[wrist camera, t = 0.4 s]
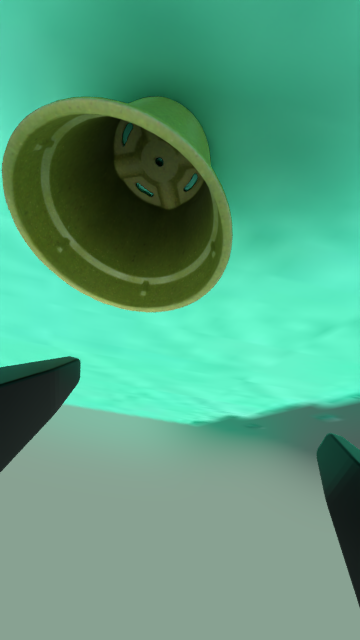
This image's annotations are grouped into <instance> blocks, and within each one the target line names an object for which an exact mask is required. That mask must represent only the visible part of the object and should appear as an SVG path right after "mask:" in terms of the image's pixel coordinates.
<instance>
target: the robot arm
mask: <svg viewBox="0 0 360 640" xmlns="http://www.w3.org/2000/svg"><path fill="white" fill-rule="evenodd" d="M80 364H81V363H80V360H79V359H78V358H74V357H70V356H68V357H62V358H56V359H50V360H43V361H37V362H31V363H25V364H19V365H12V366H6V367H0V472H1V471H2V470H3V469H4V468H5V467H6V466H7V465H8V464H9V463H10V461H11V460H12V459H13V458H14V457H15V456H16V455H17V454H18V453H19V452H20V451H21V450H22V449H23V447H24V446H25V445H26V444H27V443H28V442H29V441H30V440H31V439H32V438H33V437H34V436H35V435H36V434H37V433H38V431H39V430H40V429H41V428H42V427H43V426H44V425H45V424H46V423H47V422H48V421H49V420H50V419H51V418H52V416H53V415H54V414H55V413H56V412H57V410H58V409H59V408H60V407H61V405H62V404H63V403H64V401H65V400H66V399H67V397H68V396H69V395H70V393H71V392H72V391H73V389H74V388H75V387H76V385H77V384H78V382H79V379H80ZM317 461H318V466H319V471H320V476H321V480H322V485H323V490H324V494H325V499H326V502H327V506H328V509H329V512H330V515H331V518H332V521H333V525H334V528H335V531H336V534H337V537H338V540H339V543H340V547H341V550H342V553H343V556H344V559H345V563H346V566H347V568H348V572H349V575H350V578H351V581H352V585H353V588H354V590H355V594H356V597H357V600H358V603H359V607H360V450H359V449H358V448H356V447H355V446H354V445H352V444H351V443H350V442H349V441H347V440H346V439H345V438H343V437H341V436H338V435H335V434H332V433H329V434H327V435H326V437H325V438H324V440H323V441H322V443H321V444H320V446H319V448H318V451H317Z"/></svg>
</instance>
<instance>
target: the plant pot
mask: <svg viewBox="0 0 360 640" xmlns="http://www.w3.org/2000/svg"><path fill="white" fill-rule="evenodd" d="M128 123H131V124H133V129H132V130H131V132H130V134H129V136H128V139H127V142H126V143H125V146H123V143H122V135H123V131H124V129H125V127H126V125H127V124H128ZM158 157H160V158H161V159H162V160H163V162H164V163H163V165H162V166H158V165H157V164H156V162H155V160H156V158H158ZM195 173H196V174H197V176H198V178H197V182H196V183H195V184H194V185H193V187H192V188H191V189H190V190H189V191H184V188H185V186H186V185H187V184H188V183H189V182H190V180H191V179H192V176H193V174H195ZM2 178H3V189H4V195H5V199H6V203H7V205H8V209H9V210H10V213H11V216H12V218H13V220H14V222H15V225H16V227H17V229H18V231H19V232H20V234H21V236H22V237H23V239H24V240H25V242H26V243H27V245H28V246H29V247H30V249H31V250H32V251H33V252H34V254H35V255H36V256H37V257H38V259H39V260H41V261H42V262H43V263H44V265H46V266H47V267H48V268H49V269H50V270H51V271H53V272H54V273H55V274H56V275H57V276H58V277H60V278H61V279H62V280H63V281H65V282H66V283H67V284H69V285H70V286H71V287H73V288H75V289H76V290H78V291H80V292H81V293H83V294H85V295H87V296H90V297H92V298H93V299H95V300H97V301H100V302H102V303H105V304H108V305H112V306H115V307H118V308H121V309H126V310H131V311H141V312H162V311H169V310H174V309H178V308H181V307H184V306H187V305H189V304H191V303H193V302H195V301H197V300H198V299H200V298H201V297H203V296H204V295H205V294H206V293H208V292H209V291H210V290H211V289H212V288H213V287H214V286H215V284H216V283H217V282H218V280H219V279H220V278H221V276H222V274H223V272H224V270H225V268H226V265H227V263H228V260H229V257H230V252H231V246H232V219H231V213H230V209H229V205H228V201H227V198H226V195H225V193H224V190H223V188H222V185H221V183H220V181H219V179H218V178H217V176H216V174H215V172H214V171H213V169H212V168H211V160H210V151H209V146H208V142H207V138H206V135H205V133H204V131H203V129H202V127H201V125H200V123H199V122H198V120H197V119H196V118H195V116H194V115H193V114H192V113H191V112H190V111H189V110H188V109H187V108H185V107H184V106H183V105H181V104H179V103H178V102H176V101H173V100H171V99H169V98H165V97H158V96H156V97H146V98H142V99H139V100H136V101H133V102H131V103H128V104H127V103H124V102H120V101H116V100H112V99H106V98H100V97H73V98H68V99H63V100H58V101H56V102H53V103H50V104H47V105H45V106H43V107H41V108H39V109H37V110H35V111H33V112H32V113H30V114H29V115H28V116H26V117H25V118H24V119H23V120H22V121H21V122H20V124H19V125H18V126H17V128H16V129H15V130H14V132H13V133H12V135H11V137H10V139H9V141H8V144H7V147H6V150H5V153H4V157H3V163H2ZM136 183H139V184H140V185H142V186H143V187H144V188H145V189H147V190H148V191H150V192H152V193H153V194H154V196H152V197H150V196H149V195H147V194H145V193H143V192H141V191H140V190H139V189H138V188H137V187H136Z"/></svg>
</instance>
